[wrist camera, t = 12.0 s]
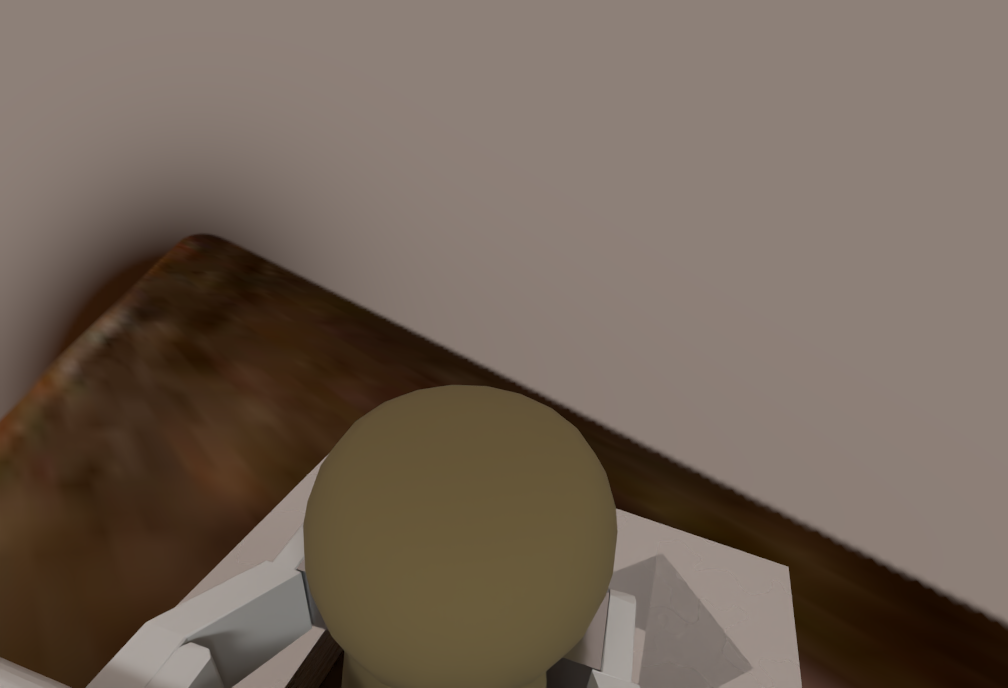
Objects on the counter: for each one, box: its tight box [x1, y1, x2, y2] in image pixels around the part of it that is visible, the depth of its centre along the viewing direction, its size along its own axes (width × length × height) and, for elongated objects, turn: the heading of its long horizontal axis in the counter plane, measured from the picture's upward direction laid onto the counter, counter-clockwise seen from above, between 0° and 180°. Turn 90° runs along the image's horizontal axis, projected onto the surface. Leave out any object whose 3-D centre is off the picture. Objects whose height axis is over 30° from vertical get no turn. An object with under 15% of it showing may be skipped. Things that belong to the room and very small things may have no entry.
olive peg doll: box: [303, 385, 618, 688], centre depth 11 cm, size 6×6×11 cm
